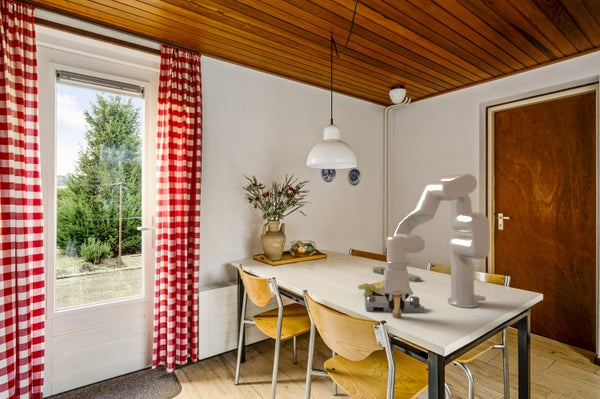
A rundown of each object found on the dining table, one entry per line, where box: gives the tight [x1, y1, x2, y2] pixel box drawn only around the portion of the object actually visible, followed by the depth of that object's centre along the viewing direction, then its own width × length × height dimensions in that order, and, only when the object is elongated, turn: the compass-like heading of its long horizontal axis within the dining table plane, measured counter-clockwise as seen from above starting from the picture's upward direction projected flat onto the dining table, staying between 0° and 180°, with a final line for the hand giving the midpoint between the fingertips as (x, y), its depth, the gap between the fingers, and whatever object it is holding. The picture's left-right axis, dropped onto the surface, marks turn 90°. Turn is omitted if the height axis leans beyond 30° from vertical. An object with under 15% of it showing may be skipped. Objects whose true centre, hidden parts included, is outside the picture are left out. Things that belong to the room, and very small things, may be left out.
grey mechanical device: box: [364, 294, 424, 314], centre depth 144 cm, size 24×9×5 cm, turn 83°
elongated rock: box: [371, 265, 422, 283], centre depth 202 cm, size 35×5×10 cm
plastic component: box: [357, 280, 388, 296], centre depth 167 cm, size 20×7×10 cm
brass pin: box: [391, 292, 403, 319], centre depth 135 cm, size 6×6×11 cm
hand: (396, 309), depth 135 cm, fingers closed on brass pin, 3 cm apart
